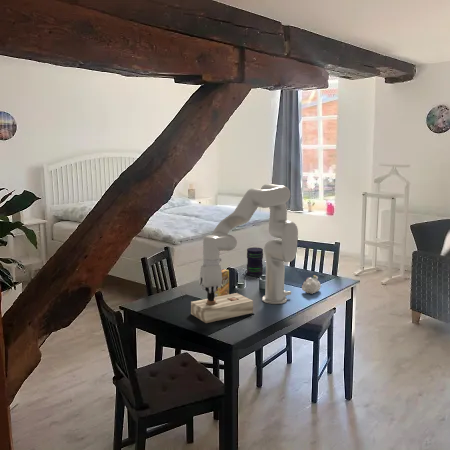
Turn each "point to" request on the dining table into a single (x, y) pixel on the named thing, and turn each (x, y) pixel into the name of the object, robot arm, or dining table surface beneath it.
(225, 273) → the candy box
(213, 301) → the peg
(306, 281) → the cream lumpy bulb
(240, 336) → the dining table surface
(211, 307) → the birch block
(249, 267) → the storage jar
